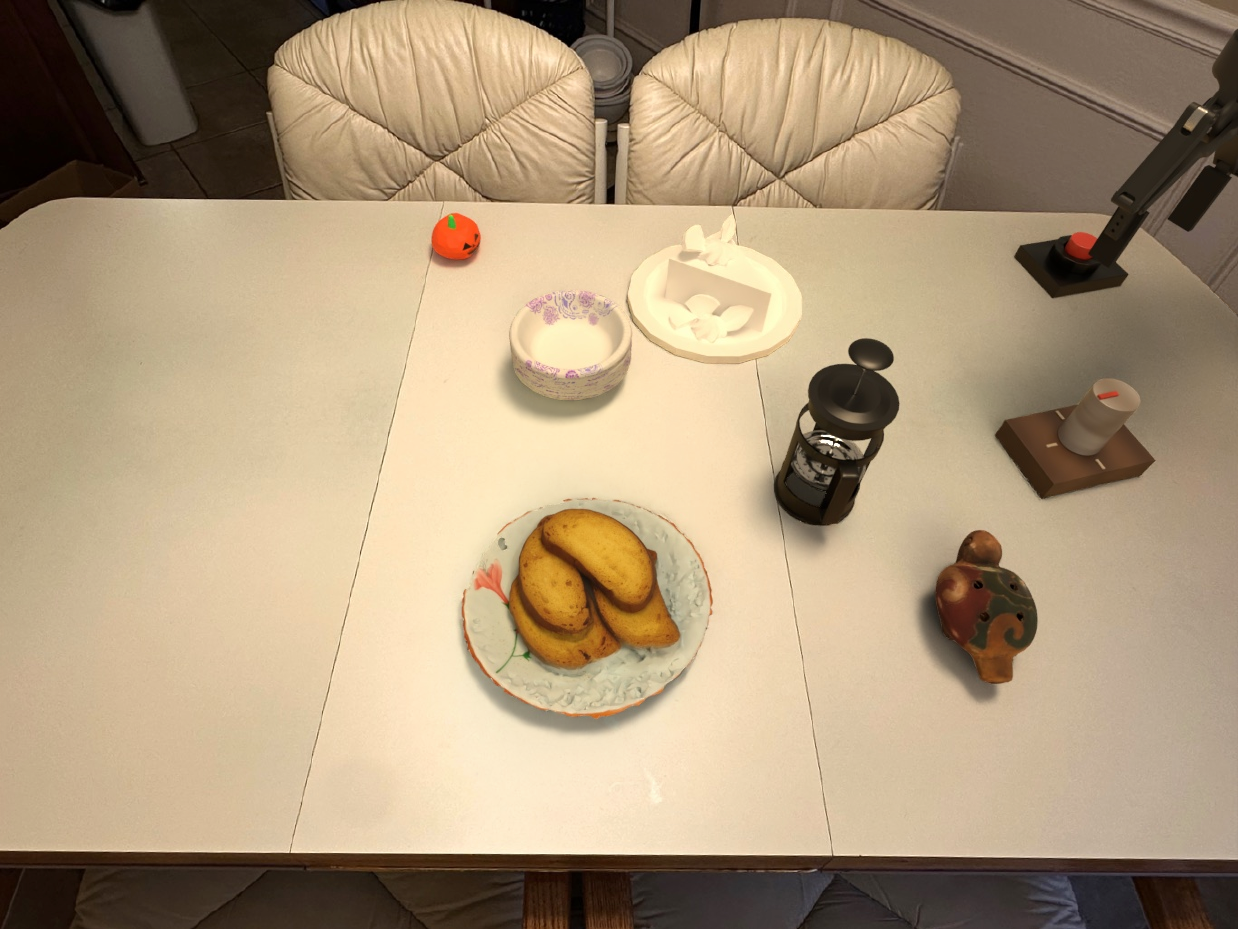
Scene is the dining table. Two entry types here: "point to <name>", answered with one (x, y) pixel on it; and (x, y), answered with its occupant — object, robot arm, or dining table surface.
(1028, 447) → the dial panel
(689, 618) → the food on plate
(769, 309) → the dish
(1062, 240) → the button housing
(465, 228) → the pumpkin
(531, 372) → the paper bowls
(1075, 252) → the push knob
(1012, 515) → the dining table surface
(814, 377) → the french press
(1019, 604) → the painted clay ocarina
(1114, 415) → the dial
